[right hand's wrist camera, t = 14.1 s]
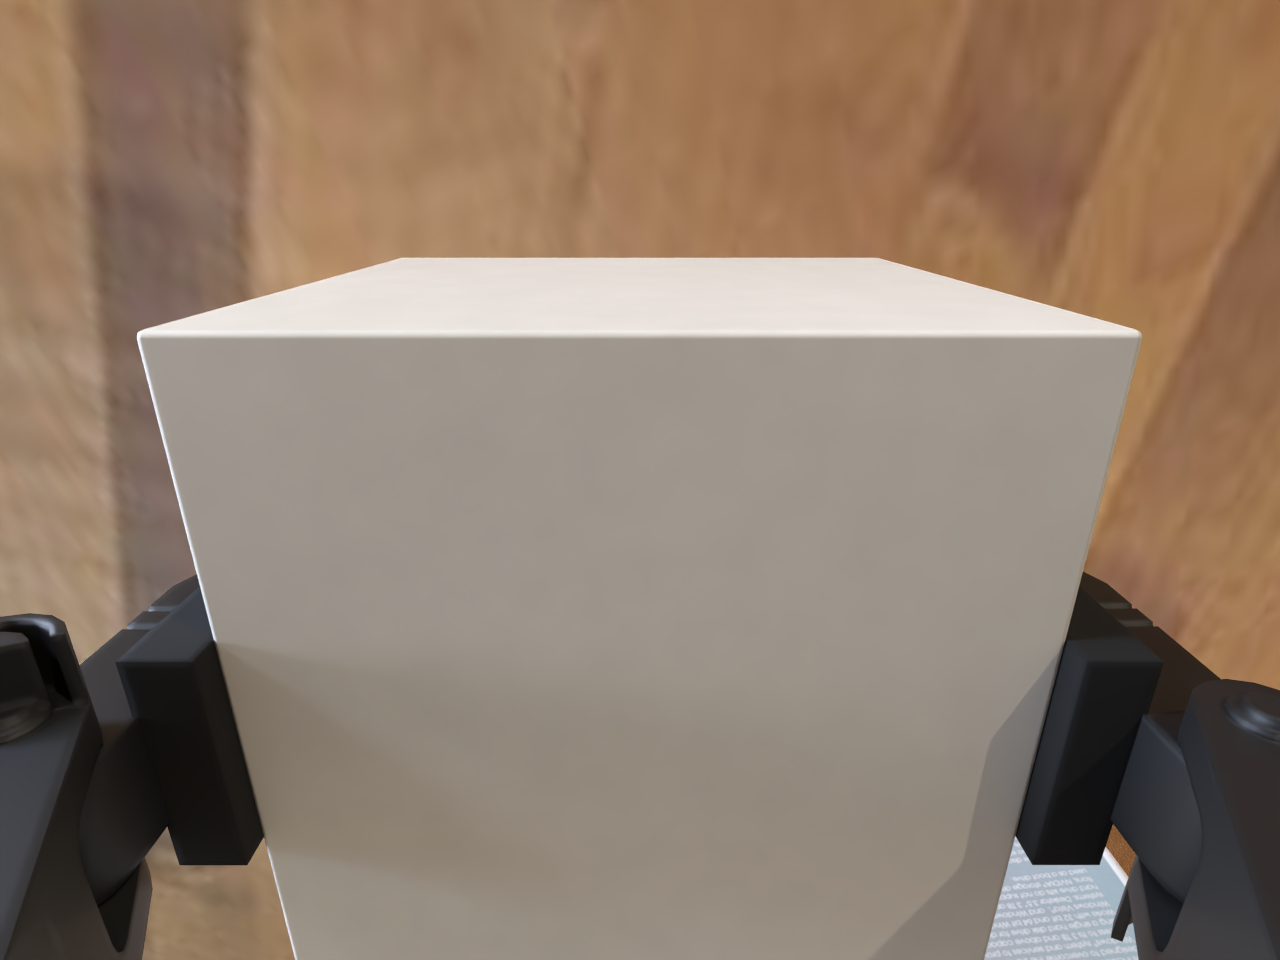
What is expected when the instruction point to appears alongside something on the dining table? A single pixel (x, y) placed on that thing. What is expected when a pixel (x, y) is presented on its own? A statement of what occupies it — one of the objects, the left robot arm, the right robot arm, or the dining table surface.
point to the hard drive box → (1059, 912)
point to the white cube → (639, 595)
